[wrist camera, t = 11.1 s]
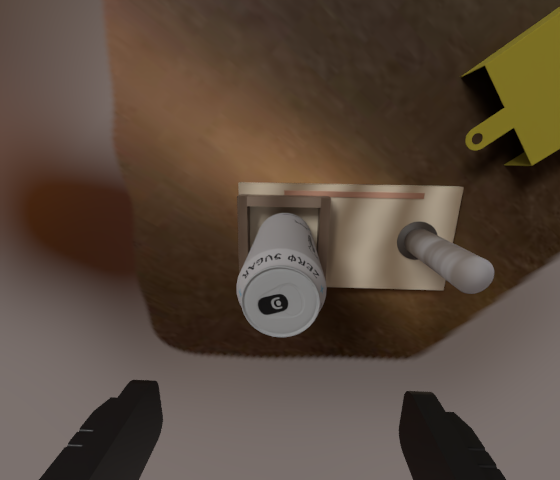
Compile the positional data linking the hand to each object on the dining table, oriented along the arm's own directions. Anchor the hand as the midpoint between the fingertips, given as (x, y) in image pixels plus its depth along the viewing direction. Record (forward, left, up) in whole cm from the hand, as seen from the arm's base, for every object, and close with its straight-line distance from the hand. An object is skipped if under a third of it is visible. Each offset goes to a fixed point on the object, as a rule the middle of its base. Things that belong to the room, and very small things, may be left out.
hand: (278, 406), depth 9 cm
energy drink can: (0, +1, -23) cm, 23 cm away
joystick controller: (-7, +1, -24) cm, 25 cm away
